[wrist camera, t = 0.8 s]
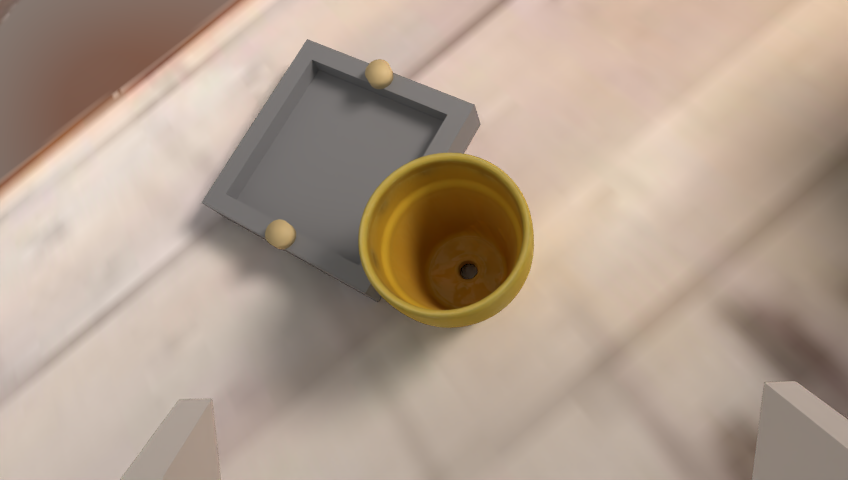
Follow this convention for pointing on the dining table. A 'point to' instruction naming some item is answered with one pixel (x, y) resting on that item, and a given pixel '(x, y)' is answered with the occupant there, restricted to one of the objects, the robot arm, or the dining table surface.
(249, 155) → the base
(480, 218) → the plant pot
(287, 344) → the dining table surface
